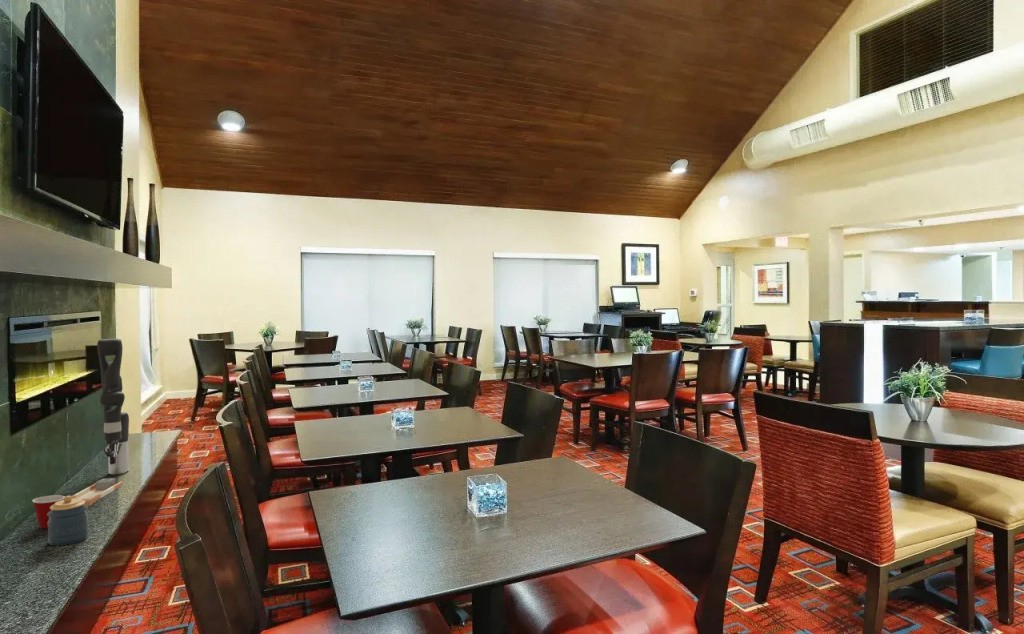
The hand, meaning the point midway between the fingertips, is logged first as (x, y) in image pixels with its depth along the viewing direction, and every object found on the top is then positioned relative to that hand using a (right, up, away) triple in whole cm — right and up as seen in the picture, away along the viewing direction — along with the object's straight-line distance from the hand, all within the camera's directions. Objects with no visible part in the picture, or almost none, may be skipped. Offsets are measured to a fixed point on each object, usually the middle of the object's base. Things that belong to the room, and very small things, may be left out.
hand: (112, 463), depth 302 cm
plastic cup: (+11, -12, -55) cm, 58 cm away
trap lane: (+3, -11, -17) cm, 21 cm away
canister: (+30, -13, -70) cm, 77 cm away
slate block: (+1, -10, -7) cm, 13 cm away
